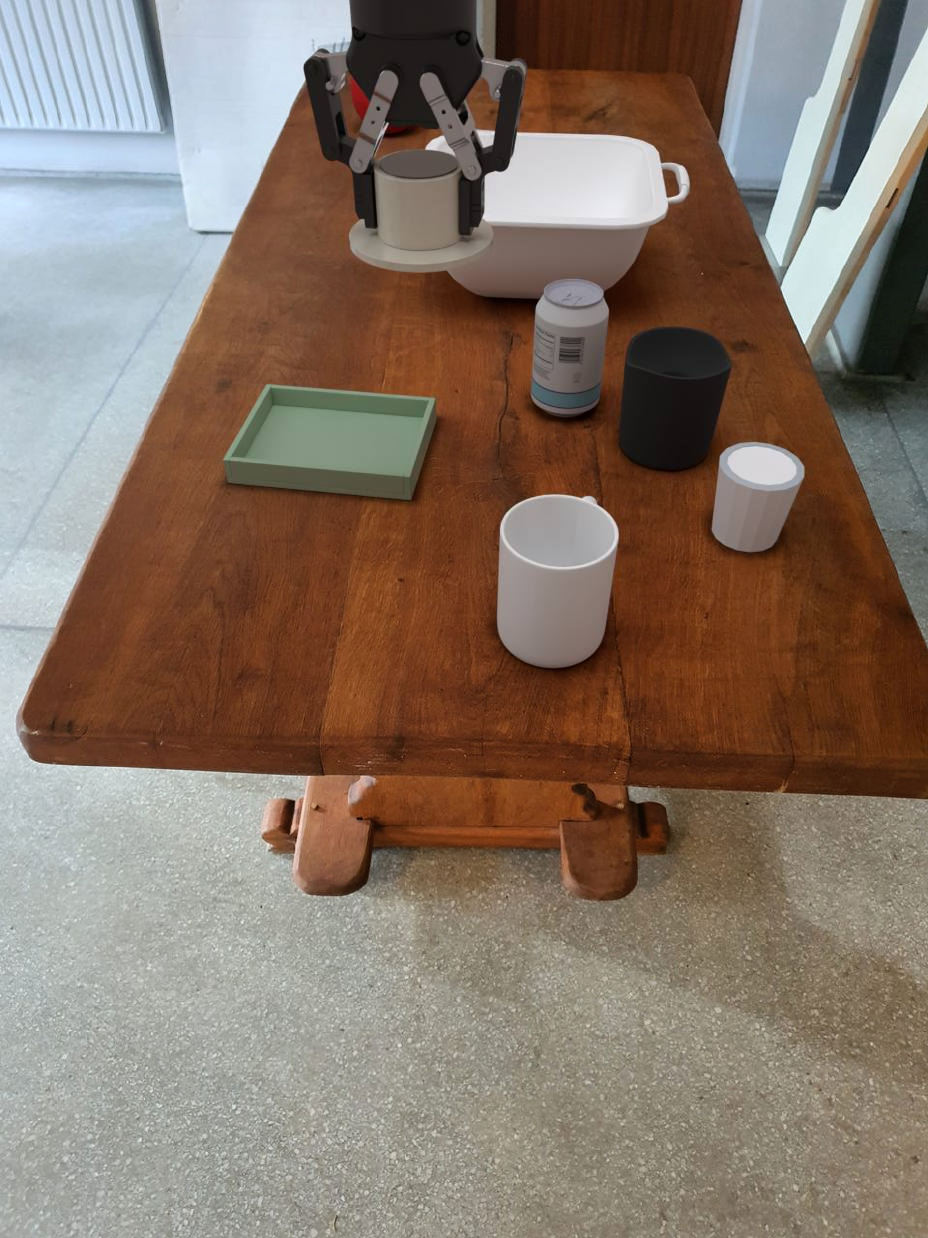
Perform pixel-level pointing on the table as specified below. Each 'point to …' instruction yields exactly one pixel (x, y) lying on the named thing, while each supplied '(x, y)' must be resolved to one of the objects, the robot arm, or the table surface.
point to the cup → (555, 578)
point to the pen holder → (672, 396)
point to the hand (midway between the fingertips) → (420, 226)
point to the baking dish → (567, 211)
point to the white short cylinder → (754, 495)
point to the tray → (333, 441)
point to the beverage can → (569, 347)
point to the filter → (418, 216)
